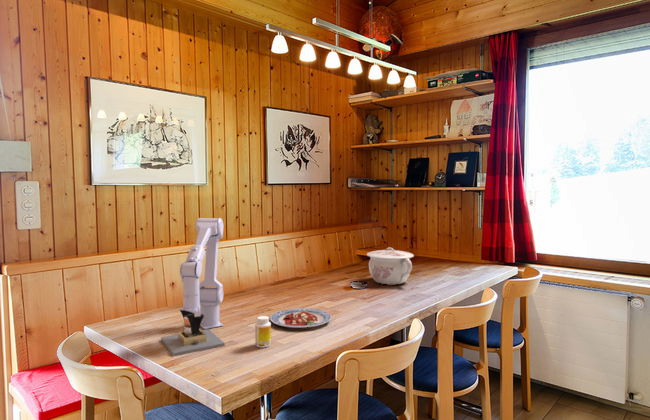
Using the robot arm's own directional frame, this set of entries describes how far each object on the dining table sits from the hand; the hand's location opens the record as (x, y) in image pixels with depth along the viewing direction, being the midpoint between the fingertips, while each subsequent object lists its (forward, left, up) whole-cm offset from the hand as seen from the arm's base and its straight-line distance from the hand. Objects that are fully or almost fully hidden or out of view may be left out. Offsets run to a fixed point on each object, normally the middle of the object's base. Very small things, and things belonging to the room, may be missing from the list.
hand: (192, 331), depth 164 cm
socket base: (0, 0, -4) cm, 4 cm away
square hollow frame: (0, 0, -4) cm, 4 cm away
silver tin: (0, 0, -3) cm, 3 cm away
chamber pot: (-36, +125, -5) cm, 130 cm away
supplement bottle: (+16, +21, -5) cm, 27 cm away
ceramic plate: (-1, +46, -5) cm, 46 cm away
